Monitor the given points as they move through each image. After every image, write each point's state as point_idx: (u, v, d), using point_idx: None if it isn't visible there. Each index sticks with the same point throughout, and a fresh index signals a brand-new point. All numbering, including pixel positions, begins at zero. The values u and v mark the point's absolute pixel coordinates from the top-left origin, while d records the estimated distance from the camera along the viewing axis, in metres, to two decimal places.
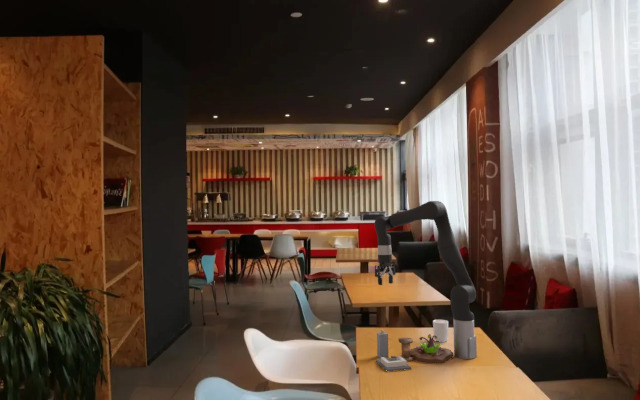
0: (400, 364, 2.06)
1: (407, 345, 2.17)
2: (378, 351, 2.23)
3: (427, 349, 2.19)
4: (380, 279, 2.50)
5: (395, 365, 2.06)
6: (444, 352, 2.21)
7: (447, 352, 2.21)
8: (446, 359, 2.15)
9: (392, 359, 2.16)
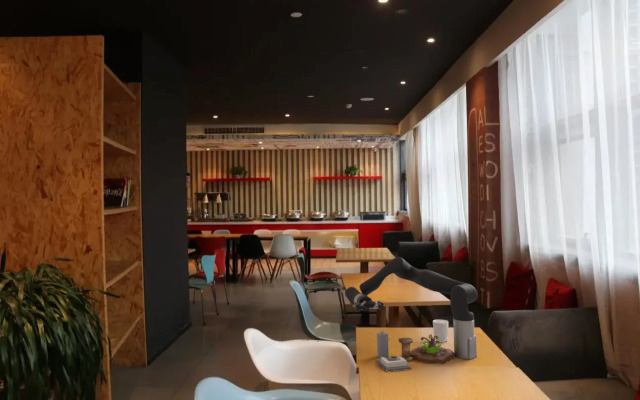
0: (400, 364, 2.06)
1: (407, 345, 2.17)
2: (378, 351, 2.23)
3: (428, 349, 2.19)
4: (362, 306, 2.36)
5: (395, 365, 2.06)
6: (445, 352, 2.20)
7: (448, 352, 2.20)
8: (447, 359, 2.14)
9: (392, 359, 2.16)
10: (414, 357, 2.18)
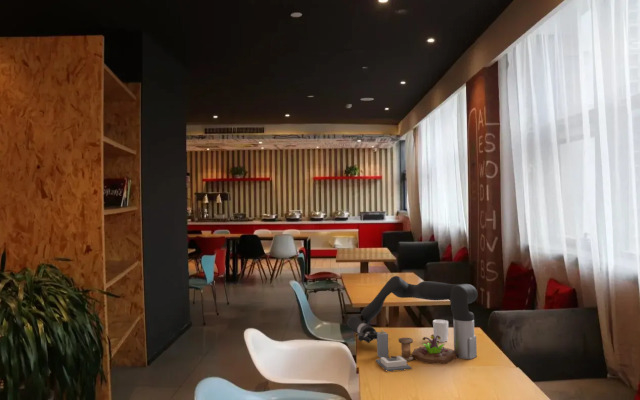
0: (400, 364, 2.06)
1: (407, 345, 2.17)
2: (378, 351, 2.23)
3: (430, 349, 2.19)
4: (365, 337, 2.32)
5: (395, 365, 2.06)
6: (447, 352, 2.20)
7: (450, 352, 2.20)
8: (449, 359, 2.14)
9: (392, 359, 2.16)
10: (416, 357, 2.18)
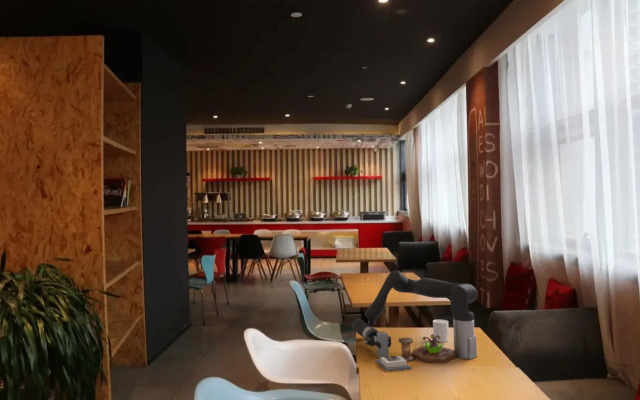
0: (400, 364, 2.06)
1: (407, 345, 2.17)
2: (378, 351, 2.23)
3: (430, 349, 2.20)
4: (376, 342, 2.23)
5: (395, 365, 2.06)
6: (447, 352, 2.20)
7: (450, 352, 2.20)
8: (449, 359, 2.15)
9: (392, 359, 2.16)
10: (415, 357, 2.18)
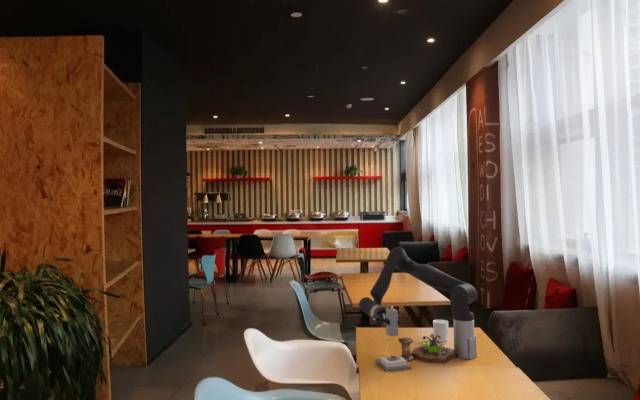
0: (400, 364, 2.06)
1: (407, 345, 2.17)
2: (387, 329, 2.11)
3: (429, 348, 2.20)
4: (385, 319, 2.10)
5: (395, 365, 2.06)
6: (447, 352, 2.21)
7: (450, 352, 2.21)
8: (448, 359, 2.15)
9: (392, 359, 2.16)
10: (415, 356, 2.19)
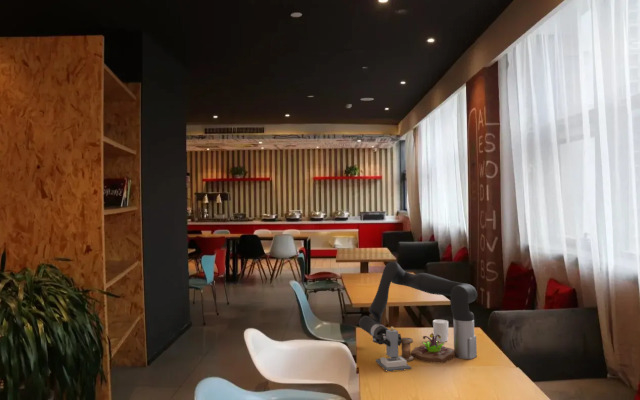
0: (400, 364, 2.06)
1: (407, 345, 2.17)
2: (387, 349, 2.11)
3: (429, 348, 2.21)
4: (385, 340, 2.10)
5: (395, 365, 2.06)
6: (447, 351, 2.21)
7: (450, 352, 2.21)
8: (447, 358, 2.15)
9: (392, 359, 2.16)
10: (415, 355, 2.20)
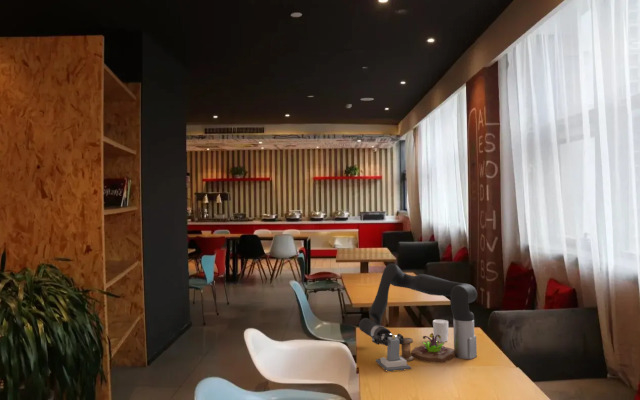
0: (400, 364, 2.06)
1: (407, 345, 2.17)
2: (388, 357, 2.10)
3: (429, 348, 2.21)
4: (383, 340, 2.10)
5: (395, 365, 2.06)
6: (447, 351, 2.21)
7: (450, 351, 2.21)
8: (447, 358, 2.15)
9: None
10: (414, 355, 2.20)
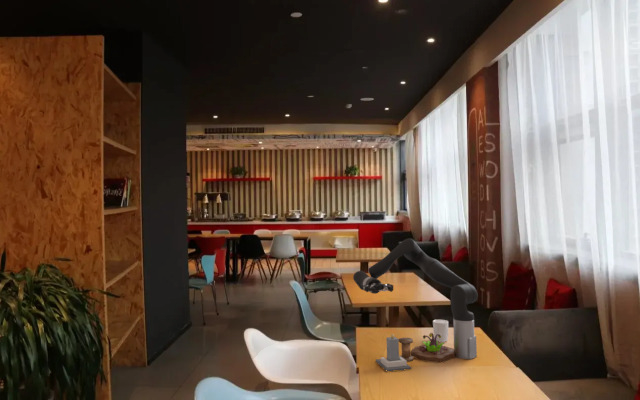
0: (400, 364, 2.06)
1: (407, 345, 2.17)
2: (388, 357, 2.10)
3: (428, 347, 2.22)
4: (371, 288, 2.31)
5: (395, 365, 2.06)
6: (446, 351, 2.22)
7: (449, 351, 2.22)
8: (446, 358, 2.16)
9: None
10: (414, 354, 2.22)
